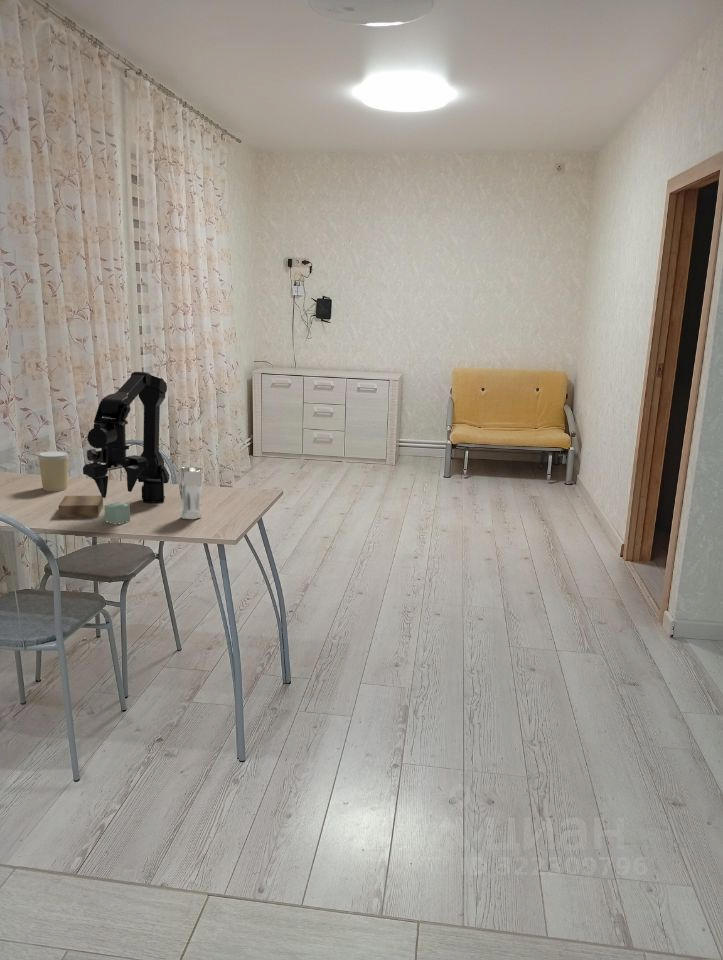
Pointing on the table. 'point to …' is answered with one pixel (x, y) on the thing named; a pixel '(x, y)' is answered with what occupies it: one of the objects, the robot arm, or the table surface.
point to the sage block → (117, 513)
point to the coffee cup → (54, 470)
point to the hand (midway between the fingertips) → (117, 494)
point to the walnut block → (81, 506)
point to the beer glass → (190, 491)
